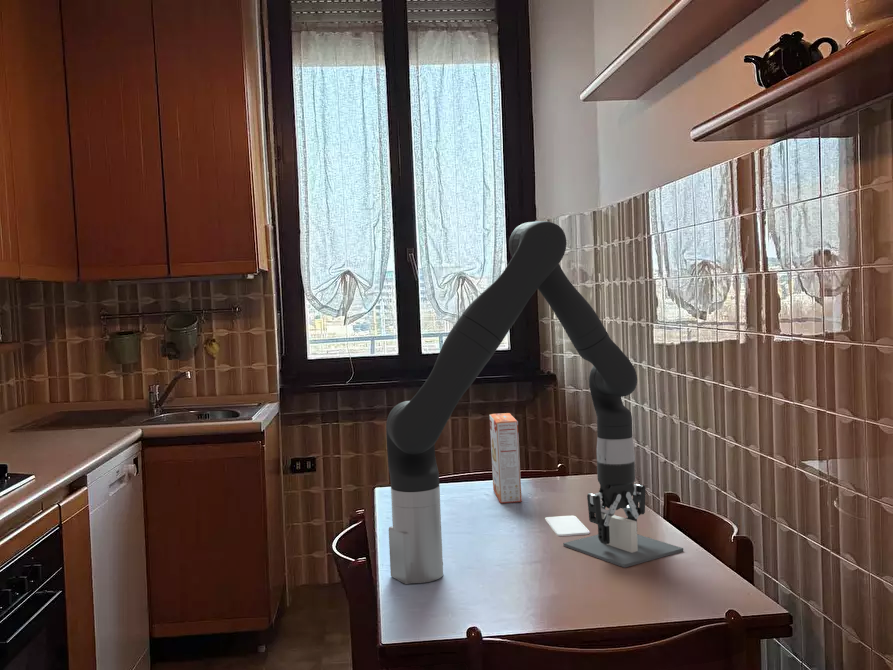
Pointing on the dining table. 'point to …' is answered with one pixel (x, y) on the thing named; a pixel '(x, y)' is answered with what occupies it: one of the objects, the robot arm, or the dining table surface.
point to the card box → (623, 533)
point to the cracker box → (505, 457)
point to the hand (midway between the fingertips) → (618, 539)
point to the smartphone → (567, 526)
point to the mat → (646, 550)
